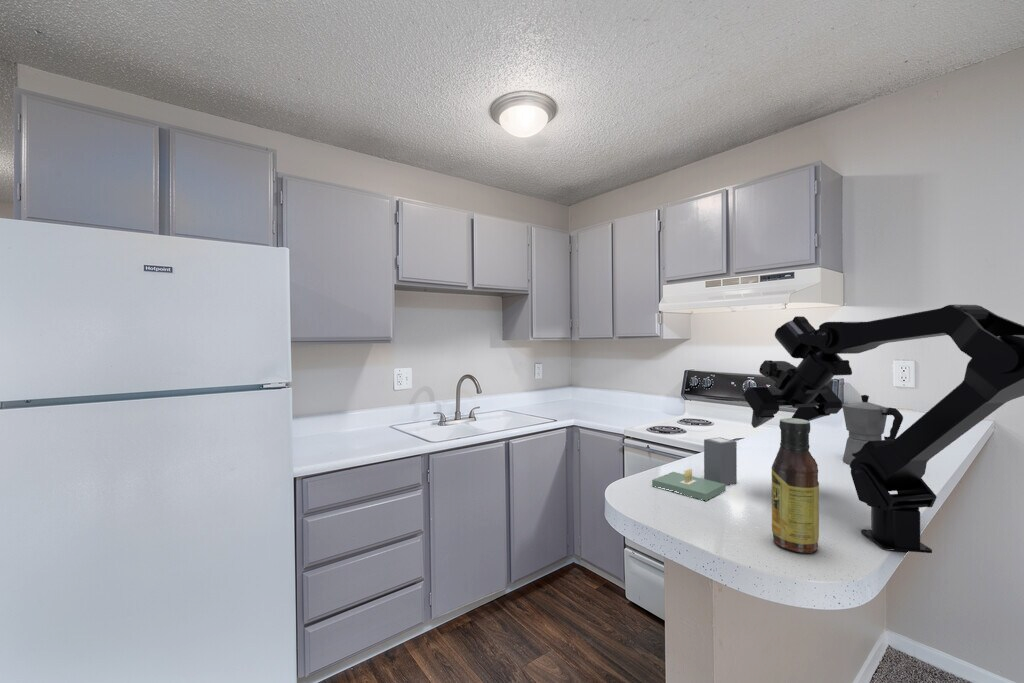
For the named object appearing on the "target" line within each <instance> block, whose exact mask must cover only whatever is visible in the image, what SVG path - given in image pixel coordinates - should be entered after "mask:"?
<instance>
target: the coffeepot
mask: <svg viewBox="0 0 1024 683" xmlns="http://www.w3.org/2000/svg"><path fill="white" fill-rule="evenodd" d="M860 397H861V401H860V402H849V403H842V408H841V409H842V413H843V417H844V418H843V419H844V423H845V428H846V431H848V437H847V438H846V443H845V447H844V453H843V458H842V462H843V463H845V464H847V465H849V466H850V463H851V461H852V460H853V459H854V458H855V457H854V456H852V454H853V453H857V452H858V451H860V450H861V449H862V447H863V446H864V444H865V443H867V442H868V441H874V440H894V439H896V438H897V437H898V436H897V435H898V433H899V431H900V428H901V425H902V422H903V420H904V416H903V414H902V413H901V412H900V411H899V410H898V409H897V408H895V407H888V406H887V407H886V406H882V405H881V404H880V405H879V404H875V403H872V402H868V401H869V398H870V395H867V394H862V395H860ZM888 416H893V418H894V419H893V420H892V427H891V428H890V431H889V436H885V435H884V436H883V434H884V433H885V427H886V422H887V417H888ZM882 436H883V439H882Z"/></svg>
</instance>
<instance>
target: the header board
mask: <svg viewBox="0 0 1024 683" xmlns="http://www.w3.org/2000/svg"><path fill="white" fill-rule="evenodd" d="M651 481H652V482H651V483H652V484H651V487H652V486H656V487H661V488H665V489H669V490H673V491H677V492H679V493H682V494H685V495H688V496H692V497H695V498H698V499H697V500H699V499H702V500H705V501H704V502H708V501H709V500H708V499H710V500H712V499H713V498H712V497H714V496H716V495H717V496H719V495H721V494H723V493H725V492H726V490H727V489H726V487H727V486H726V484H722V483H718V482H714V481H710V480H706V479H704V478H701V477H697V476H693V469H691V468H690V469H686V470H684V473H680V472H676V471H672V472H669V473H667V474H664V475H661V476H658V477H655V478H654V479H652V480H651ZM656 487H655V488H656ZM724 491H725V492H724ZM722 492H723V493H722ZM720 493H721V494H720ZM718 494H719V495H718ZM688 496H687V497H688ZM717 496H716V497H717ZM692 497H691V498H692ZM695 498H694V499H695ZM711 498H712V499H711ZM714 498H715V497H714ZM702 500H701V501H702ZM707 500H708V501H707Z"/></svg>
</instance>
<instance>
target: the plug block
mask: <svg viewBox="0 0 1024 683" xmlns="http://www.w3.org/2000/svg"><path fill="white" fill-rule="evenodd" d="M737 446H738V445H737V441H736V440H732V439H729V438H728V439H727V438H724V437H714V438H713V437H712V438H705V439H704V440H703V453H704V454H703V479H706V480H710V481H714V482H718V483H722V484H726V485H727V486H730V485H729V484H733V485H736V484H735V483H737V484H738V482H737V479H738V478H737V477H738V476H737V474H738V473H737V472H738V470H737V466H738V465H737V462H738V460H737Z"/></svg>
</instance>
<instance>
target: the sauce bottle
mask: <svg viewBox="0 0 1024 683" xmlns="http://www.w3.org/2000/svg"><path fill="white" fill-rule="evenodd" d="M779 429H780V443H779V449H778V452H777V453H776V455H775V456H776V457H775V458H774V460H773V463H772V466H771V531H772V532H771V533H772V538H773V541H774V542H775V543H776V545H778V547H780V548H784V549H785V548H786V550H789V551H791V552H797V553H802V554H811V553H814V552H815V551H816V550H817V549H818V548H819V540H820V539H819V538H820V532H819V531H820V515H819V514H820V502H819V501H820V495H819V494H820V482H819V467H818V466H819V464H818V463H817V461H816V459H815V457H814V456H812V454H811V452H810V432H811V421H807V420H803V419H796V418H792V417H784V418H780V419H779Z"/></svg>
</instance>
